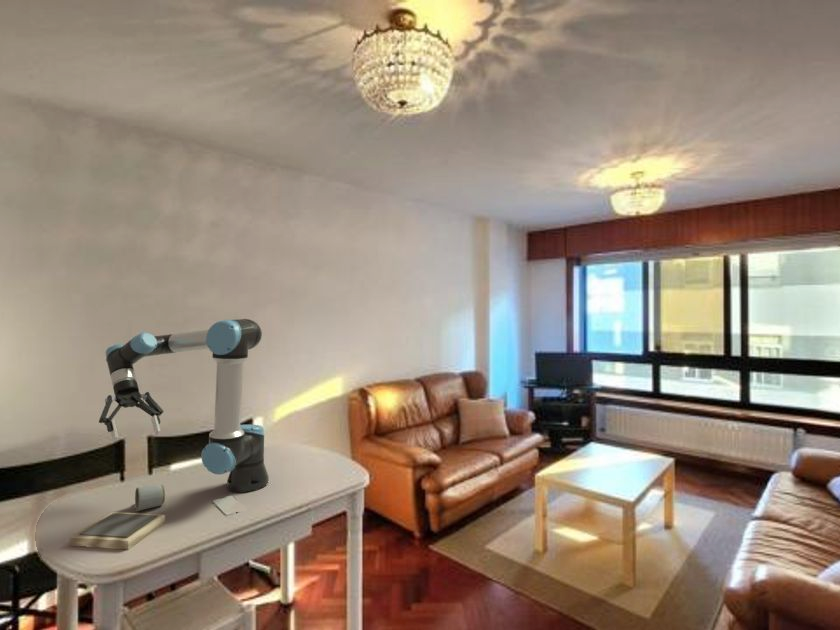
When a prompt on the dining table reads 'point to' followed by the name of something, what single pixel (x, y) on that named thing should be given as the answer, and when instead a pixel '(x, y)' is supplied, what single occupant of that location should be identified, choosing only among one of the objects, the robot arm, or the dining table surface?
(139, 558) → the dining table surface
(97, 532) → the wooden picture frame
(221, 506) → the smartphone
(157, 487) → the ceramic mug
